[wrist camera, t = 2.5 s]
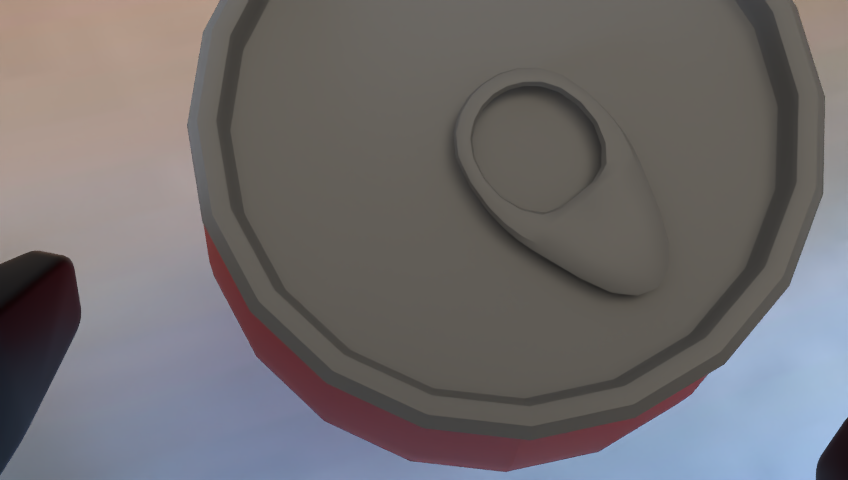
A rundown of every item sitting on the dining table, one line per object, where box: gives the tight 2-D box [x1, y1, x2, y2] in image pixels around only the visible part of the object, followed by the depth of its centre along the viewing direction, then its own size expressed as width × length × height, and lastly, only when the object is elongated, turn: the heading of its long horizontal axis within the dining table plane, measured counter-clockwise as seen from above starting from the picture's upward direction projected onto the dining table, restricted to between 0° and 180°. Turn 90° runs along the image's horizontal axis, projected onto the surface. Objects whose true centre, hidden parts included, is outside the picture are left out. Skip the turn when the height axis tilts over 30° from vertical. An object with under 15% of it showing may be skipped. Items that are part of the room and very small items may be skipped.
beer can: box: [187, 0, 825, 472], centre depth 12 cm, size 7×7×12 cm
